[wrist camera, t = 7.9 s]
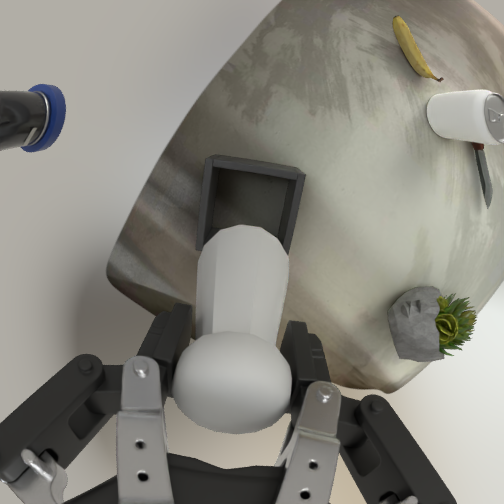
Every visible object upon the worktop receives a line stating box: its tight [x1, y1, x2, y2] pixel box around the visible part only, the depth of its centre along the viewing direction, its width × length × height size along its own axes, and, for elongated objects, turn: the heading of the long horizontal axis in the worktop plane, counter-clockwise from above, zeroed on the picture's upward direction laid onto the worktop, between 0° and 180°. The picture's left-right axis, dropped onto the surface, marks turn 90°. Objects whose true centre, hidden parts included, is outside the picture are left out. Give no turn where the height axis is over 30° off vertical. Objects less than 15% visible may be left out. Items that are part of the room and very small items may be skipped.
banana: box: [393, 16, 443, 82], centre depth 23 cm, size 10×2×4 cm, turn 38°
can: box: [427, 90, 504, 145], centre depth 22 cm, size 6×6×12 cm
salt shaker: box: [171, 225, 292, 434], centre depth 14 cm, size 6×6×13 cm
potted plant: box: [388, 286, 477, 362], centre depth 34 cm, size 12×13×15 cm
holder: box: [196, 154, 306, 256], centre depth 31 cm, size 10×10×6 cm
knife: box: [472, 142, 493, 209], centre depth 28 cm, size 18×2×3 cm, turn 26°
